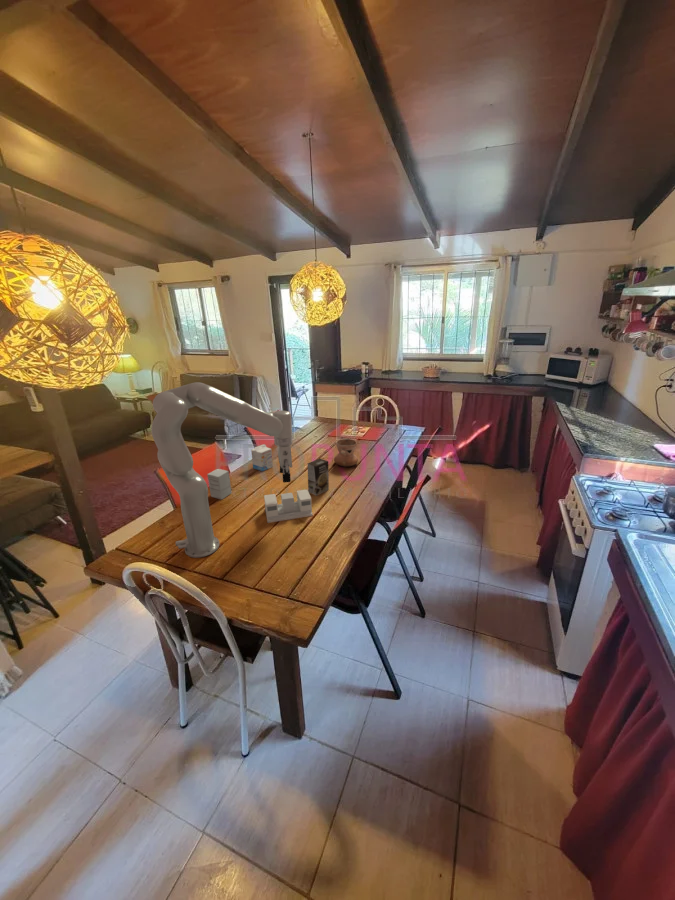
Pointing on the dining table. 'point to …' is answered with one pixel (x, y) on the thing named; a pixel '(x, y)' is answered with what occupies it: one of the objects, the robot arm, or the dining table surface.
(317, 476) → the coffee box
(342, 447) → the ceramic jug
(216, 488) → the supplement box
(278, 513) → the white channel bracket
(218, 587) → the dining table surface
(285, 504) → the block
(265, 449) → the ink box
